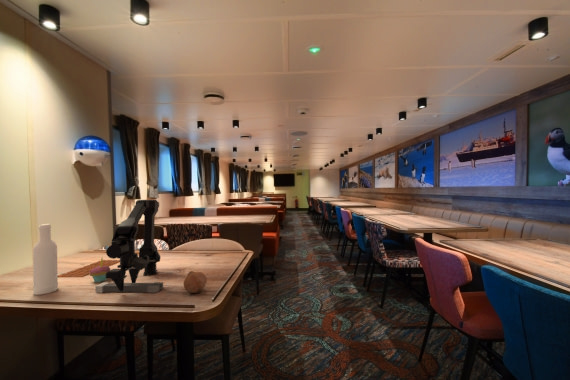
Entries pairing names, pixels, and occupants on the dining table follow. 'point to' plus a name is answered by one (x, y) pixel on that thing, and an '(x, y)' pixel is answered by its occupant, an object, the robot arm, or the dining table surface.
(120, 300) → the dining table surface
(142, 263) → the robot arm
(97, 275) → the cupcake
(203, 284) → the tan round lump
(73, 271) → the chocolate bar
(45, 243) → the bottle
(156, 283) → the arm
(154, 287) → the tongs base
